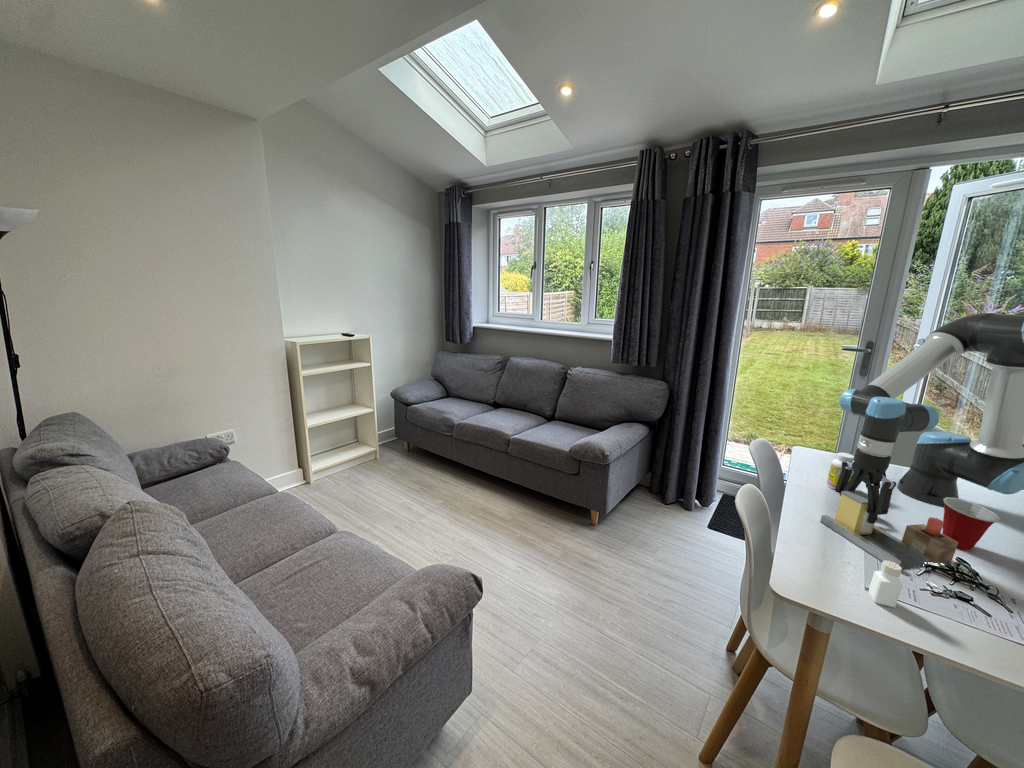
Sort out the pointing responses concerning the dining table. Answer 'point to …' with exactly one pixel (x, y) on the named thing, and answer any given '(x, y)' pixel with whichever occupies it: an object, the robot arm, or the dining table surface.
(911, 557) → the track
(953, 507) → the plastic cup
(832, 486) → the supplement bottle
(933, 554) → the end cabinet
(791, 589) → the dining table surface
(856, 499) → the carriage
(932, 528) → the ball
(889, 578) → the white pill bottle
